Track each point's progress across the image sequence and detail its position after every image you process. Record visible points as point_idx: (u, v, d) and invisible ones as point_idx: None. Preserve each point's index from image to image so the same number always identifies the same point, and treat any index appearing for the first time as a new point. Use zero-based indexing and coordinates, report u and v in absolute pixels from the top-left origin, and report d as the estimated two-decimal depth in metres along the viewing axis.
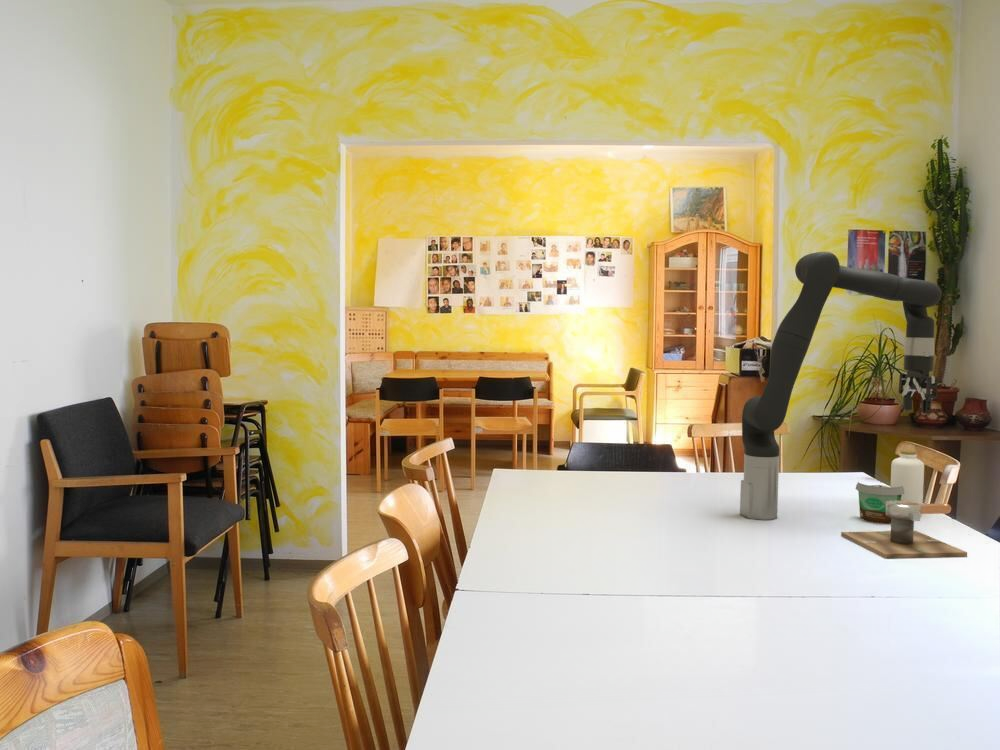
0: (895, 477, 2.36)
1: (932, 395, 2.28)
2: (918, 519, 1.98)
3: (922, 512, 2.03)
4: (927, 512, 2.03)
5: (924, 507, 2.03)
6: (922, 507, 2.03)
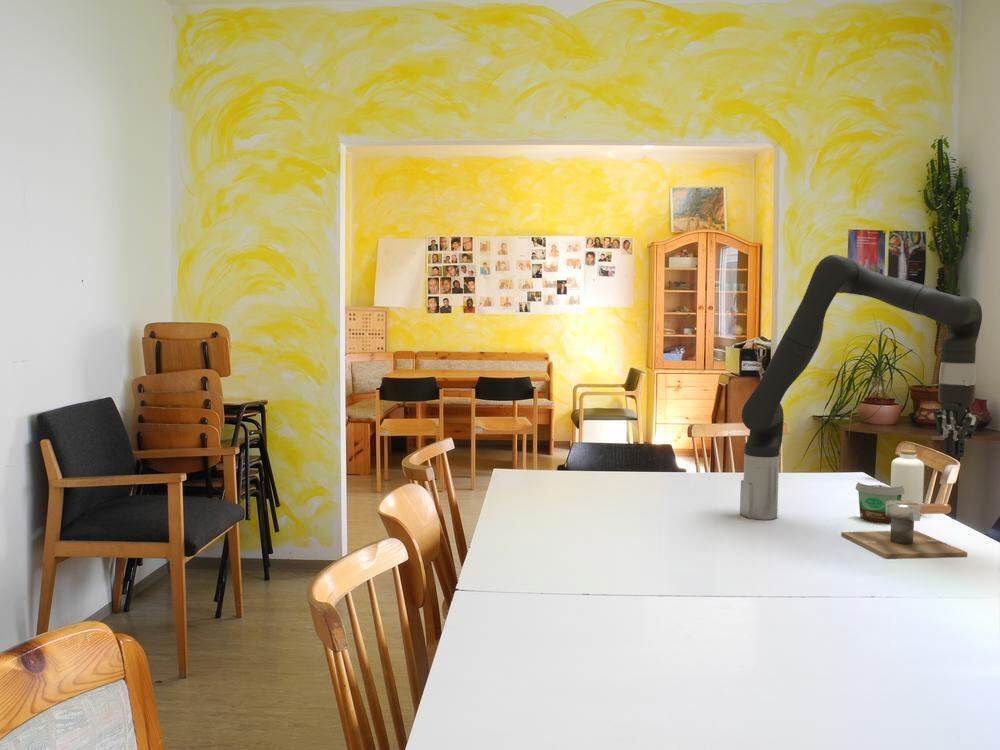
0: (895, 477, 2.36)
1: (966, 437, 1.92)
2: (918, 519, 1.98)
3: (922, 512, 2.03)
4: (927, 512, 2.03)
5: (924, 507, 2.03)
6: (922, 507, 2.03)
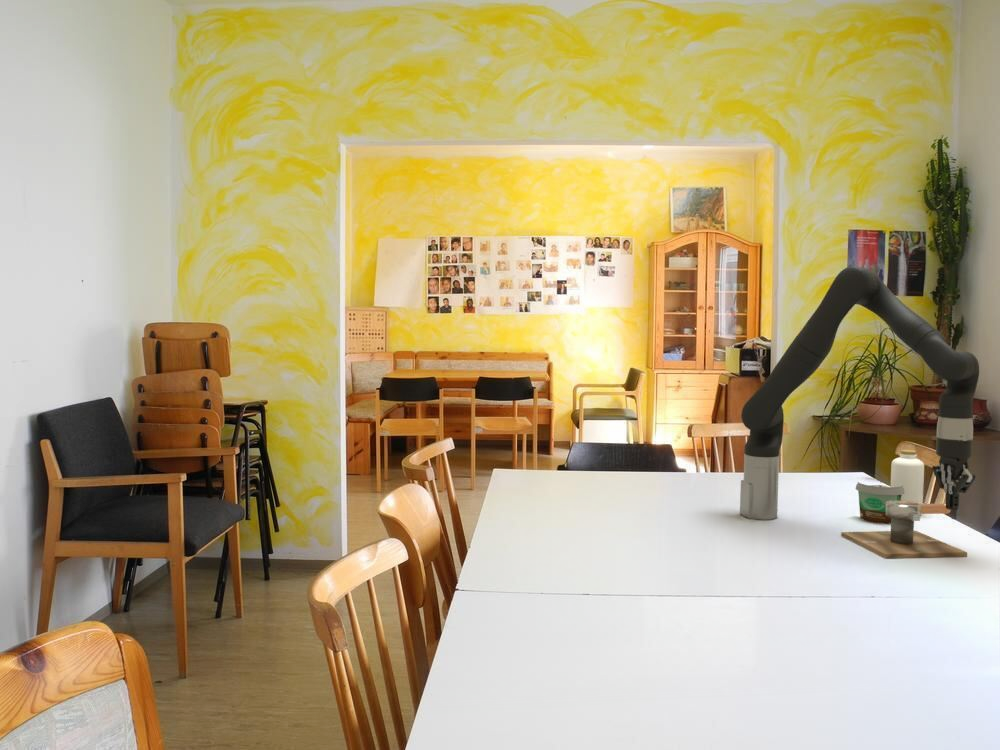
0: (895, 477, 2.36)
1: (960, 491, 1.95)
2: (918, 519, 1.98)
3: (922, 512, 2.03)
4: (927, 512, 2.03)
5: (924, 507, 2.03)
6: (922, 507, 2.03)
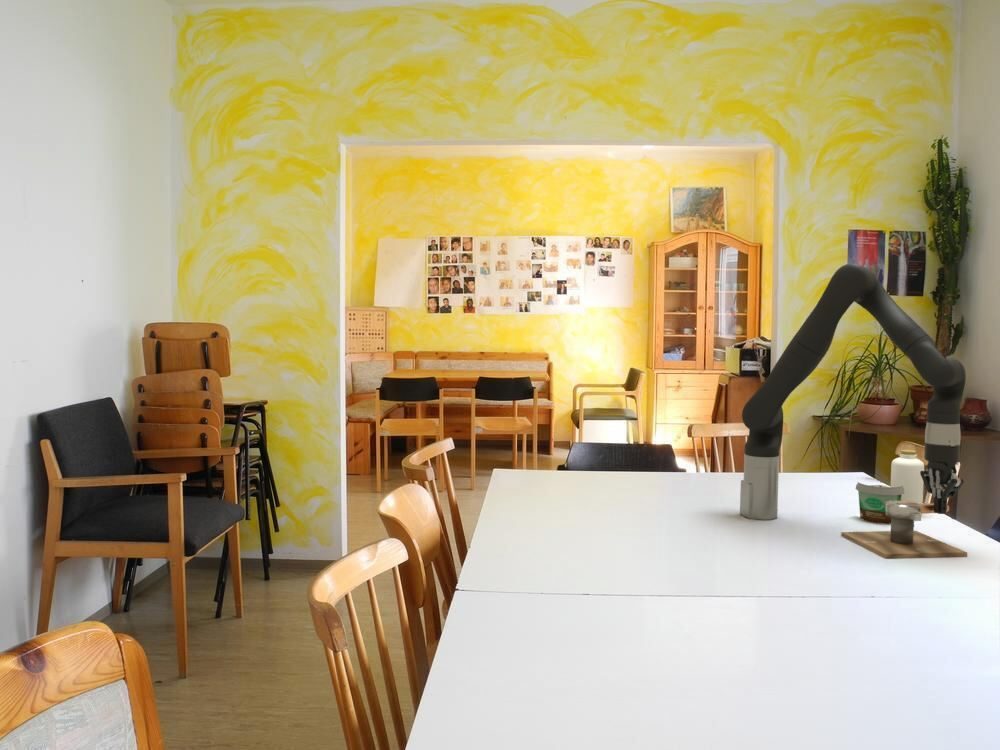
0: (895, 477, 2.36)
1: (949, 495, 1.99)
2: (919, 519, 1.98)
3: (921, 512, 2.03)
4: (926, 512, 2.03)
5: (923, 507, 2.03)
6: (922, 507, 2.03)
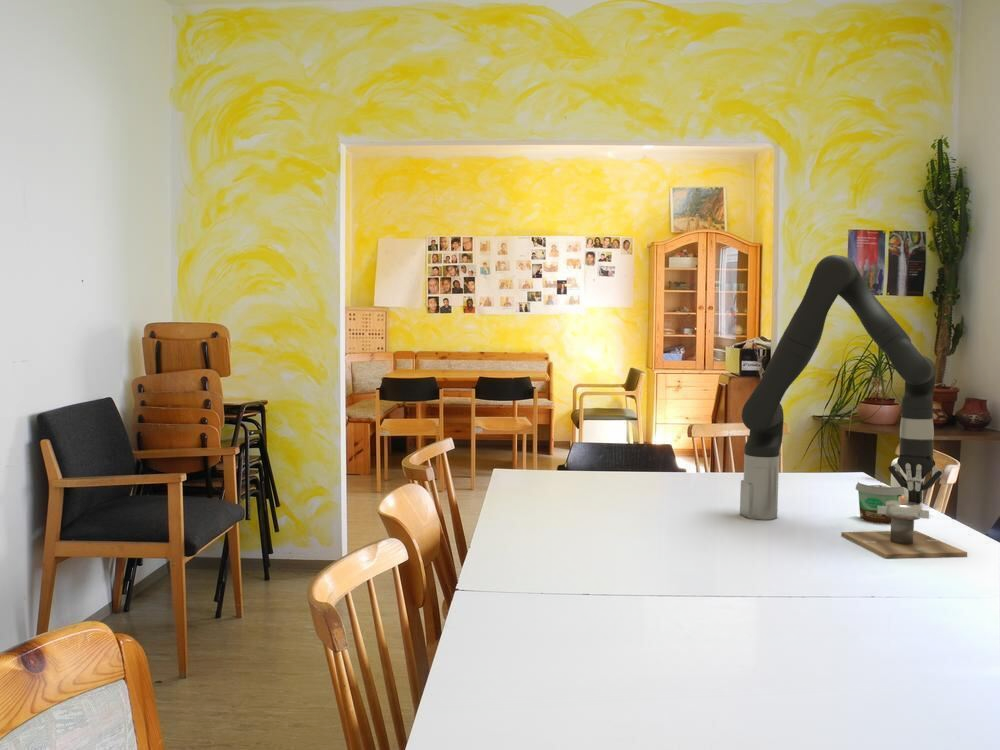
0: None
1: (928, 487, 2.07)
2: None
3: None
4: None
5: None
6: None
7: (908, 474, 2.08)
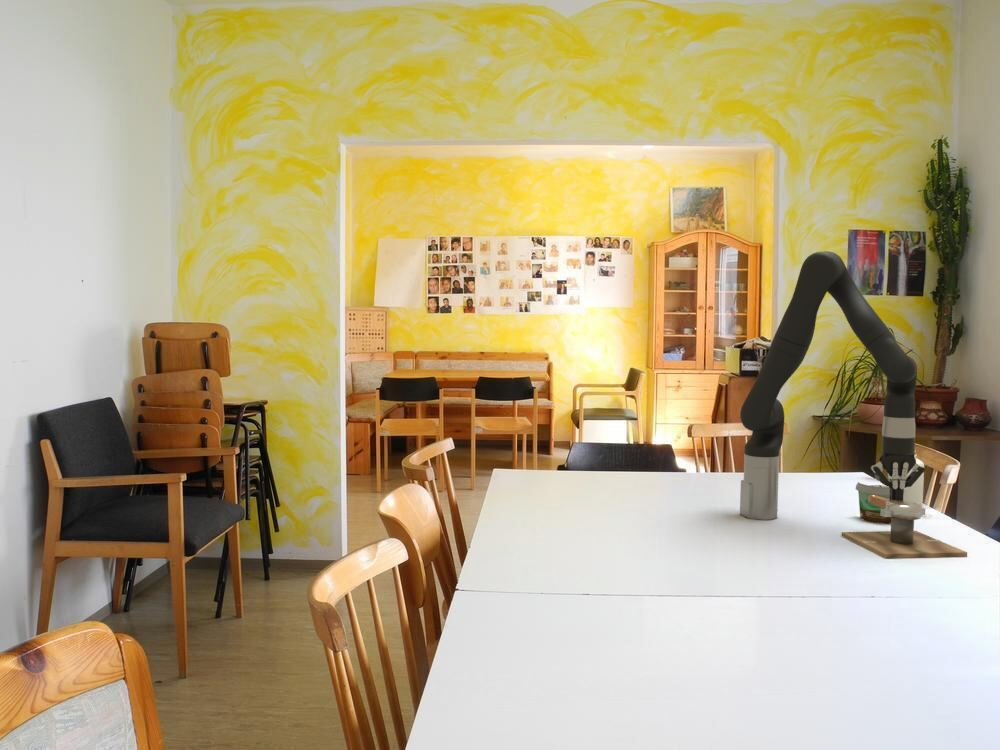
0: None
1: None
2: None
3: None
4: None
5: None
6: None
7: (895, 473, 2.09)
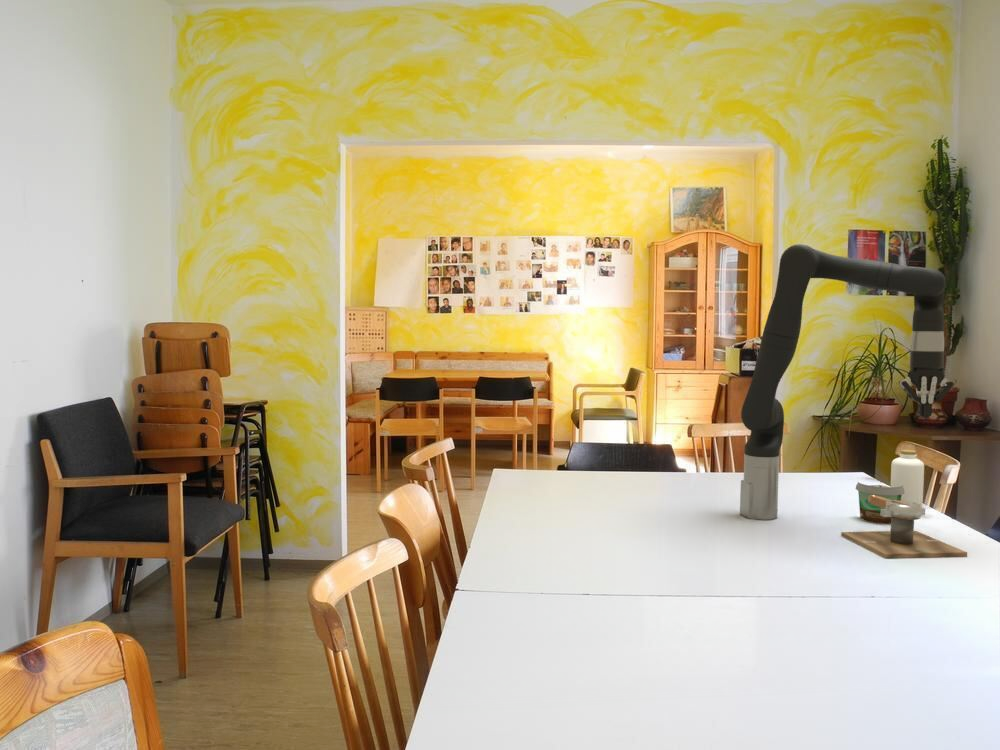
0: (895, 477, 2.36)
1: None
2: None
3: None
4: None
5: None
6: None
7: (923, 387, 2.09)
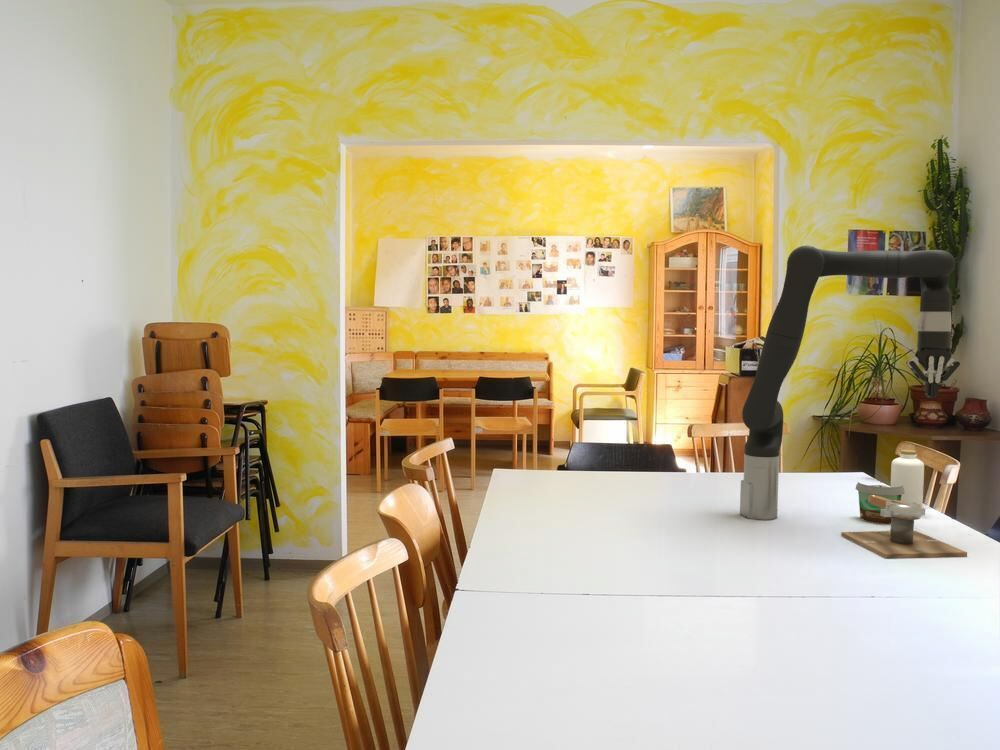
0: (895, 477, 2.36)
1: None
2: None
3: None
4: None
5: None
6: None
7: (930, 367, 2.13)
